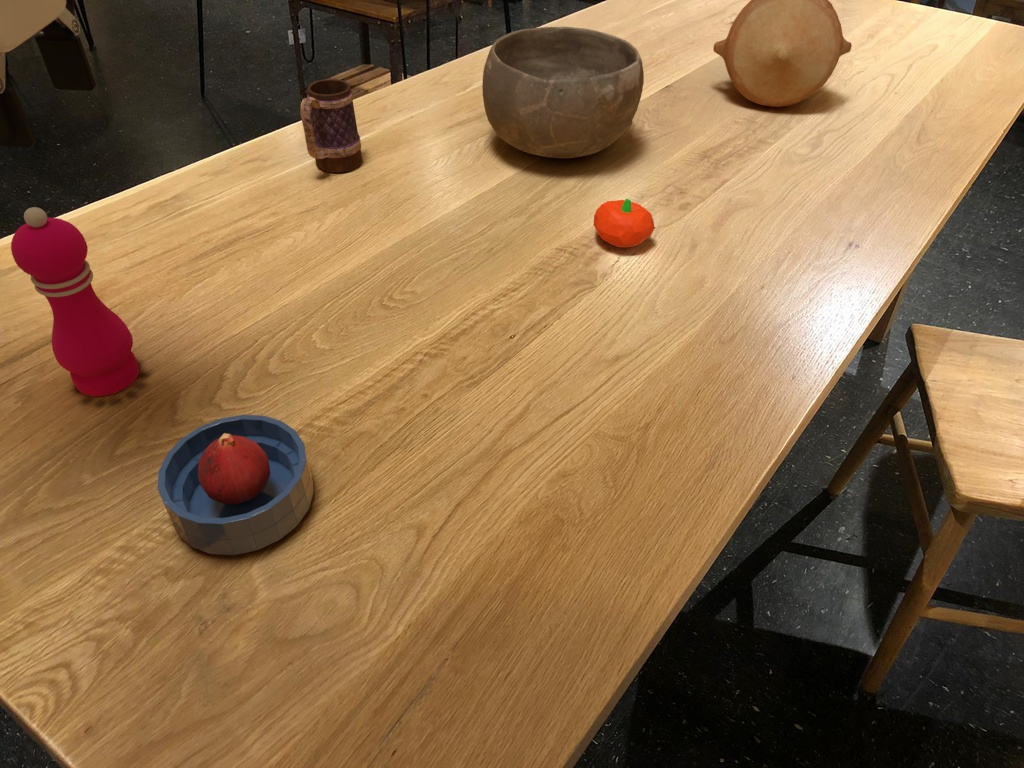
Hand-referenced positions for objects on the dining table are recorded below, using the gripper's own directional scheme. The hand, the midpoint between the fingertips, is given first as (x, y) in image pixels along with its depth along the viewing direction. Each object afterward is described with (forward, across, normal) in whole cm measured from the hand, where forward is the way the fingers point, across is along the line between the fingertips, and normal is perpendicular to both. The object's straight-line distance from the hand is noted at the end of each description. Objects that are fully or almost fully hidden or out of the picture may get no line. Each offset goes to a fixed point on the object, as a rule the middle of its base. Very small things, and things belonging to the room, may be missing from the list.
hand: (46, 115), depth 57 cm
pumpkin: (+30, -34, +49) cm, 67 cm away
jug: (+30, -89, +81) cm, 124 cm away
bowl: (+30, -61, +41) cm, 80 cm away
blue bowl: (+30, +12, +12) cm, 35 cm away
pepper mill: (+31, -4, -7) cm, 31 cm away
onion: (+30, +12, +12) cm, 34 cm away
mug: (+31, -51, +7) cm, 60 cm away
